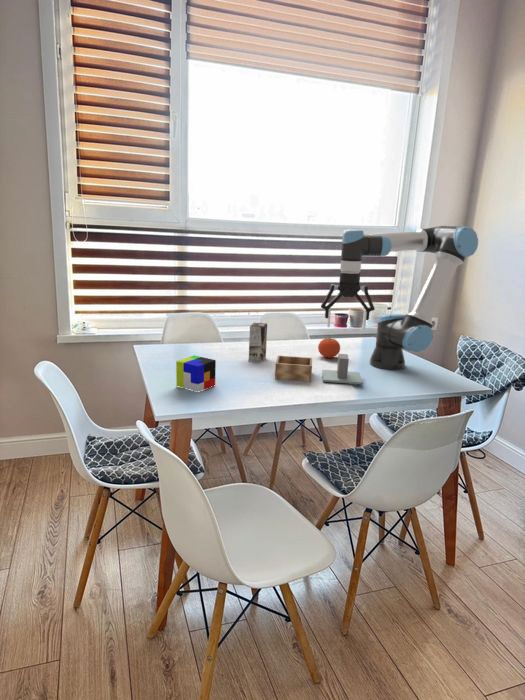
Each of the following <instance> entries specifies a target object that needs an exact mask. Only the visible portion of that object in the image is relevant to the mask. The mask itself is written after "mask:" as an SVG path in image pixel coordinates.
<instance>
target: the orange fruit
mask: <svg viewBox="0 0 525 700" xmlns="http://www.w3.org/2000/svg"><path fill="white" fill-rule="evenodd" d="M317 349H318V353H319V354H320V355H321V357H324V358H327V359H330V358H335V357H337V356H338V355H339V354H340V351H341V345H340V343H339V341H338V340H337V339H336V338H331V337H328V338H327V337H326V338H325V337H324V338H323V339H322V340H321V341H319V343H318V345H317Z"/></svg>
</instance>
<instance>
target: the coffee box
mask: <svg viewBox="0 0 525 700" xmlns="http://www.w3.org/2000/svg"><path fill="white" fill-rule="evenodd" d="M267 336H268V323H267V322H266V323H263V322H253V323H252V324H251V325H249V338H248V341H249V342H248V362H251V363H252V362H254V363H255V362H256V363H259V362H261V363H263V362H264V361H265V359H266V358H267V341H268V339H267V338H268V337H267Z"/></svg>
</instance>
